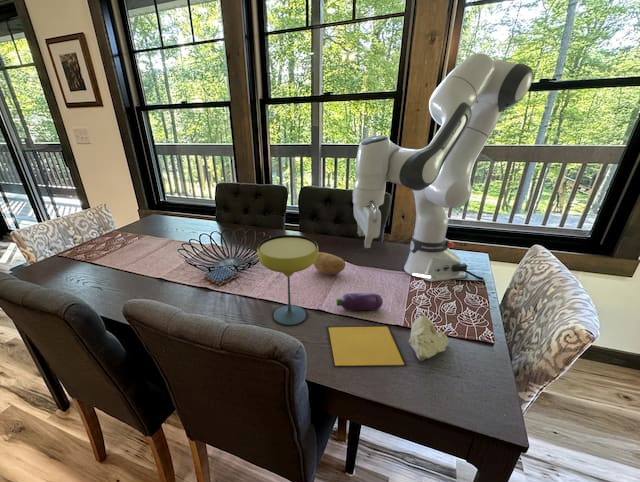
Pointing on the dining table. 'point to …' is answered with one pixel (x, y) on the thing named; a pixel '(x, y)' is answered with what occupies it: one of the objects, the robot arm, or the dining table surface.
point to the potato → (329, 263)
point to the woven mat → (221, 275)
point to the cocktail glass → (288, 267)
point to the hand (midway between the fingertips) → (363, 241)
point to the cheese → (426, 339)
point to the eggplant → (360, 301)
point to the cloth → (363, 346)
